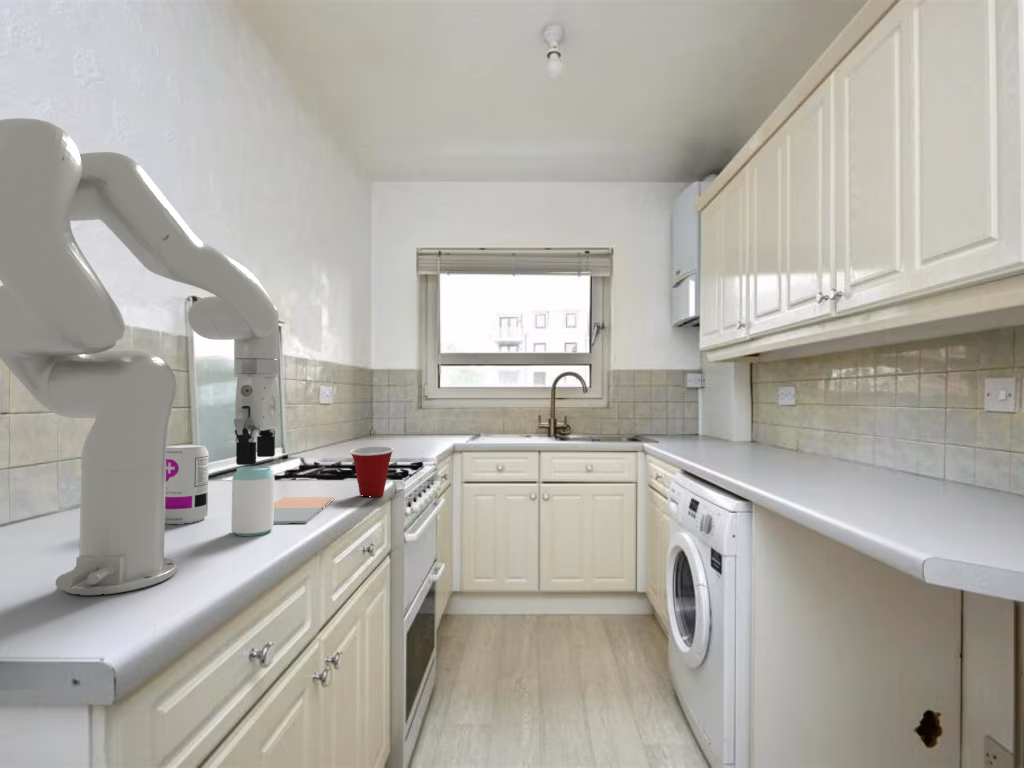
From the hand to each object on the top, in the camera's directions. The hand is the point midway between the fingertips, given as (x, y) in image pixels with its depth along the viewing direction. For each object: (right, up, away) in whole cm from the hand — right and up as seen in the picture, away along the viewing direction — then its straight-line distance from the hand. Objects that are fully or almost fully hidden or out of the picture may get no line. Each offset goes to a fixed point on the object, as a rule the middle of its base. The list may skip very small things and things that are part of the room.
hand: (256, 460), depth 100 cm
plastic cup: (+12, -14, +35) cm, 40 cm away
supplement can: (-18, -13, +7) cm, 24 cm away
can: (0, -14, -1) cm, 14 cm away
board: (0, -14, +17) cm, 22 cm away
